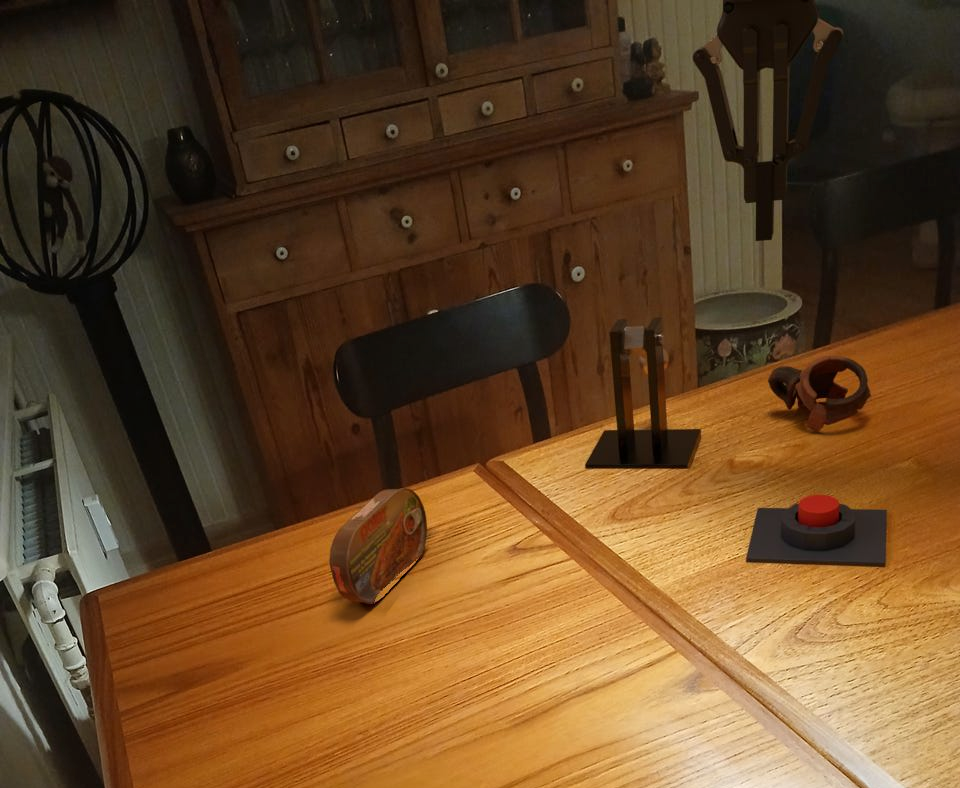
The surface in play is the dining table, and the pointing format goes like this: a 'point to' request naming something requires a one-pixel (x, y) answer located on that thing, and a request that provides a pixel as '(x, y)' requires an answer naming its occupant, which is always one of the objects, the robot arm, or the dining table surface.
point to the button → (818, 511)
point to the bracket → (659, 442)
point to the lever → (639, 346)
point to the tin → (378, 544)
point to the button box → (819, 538)
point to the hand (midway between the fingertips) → (764, 236)
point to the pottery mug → (821, 389)
